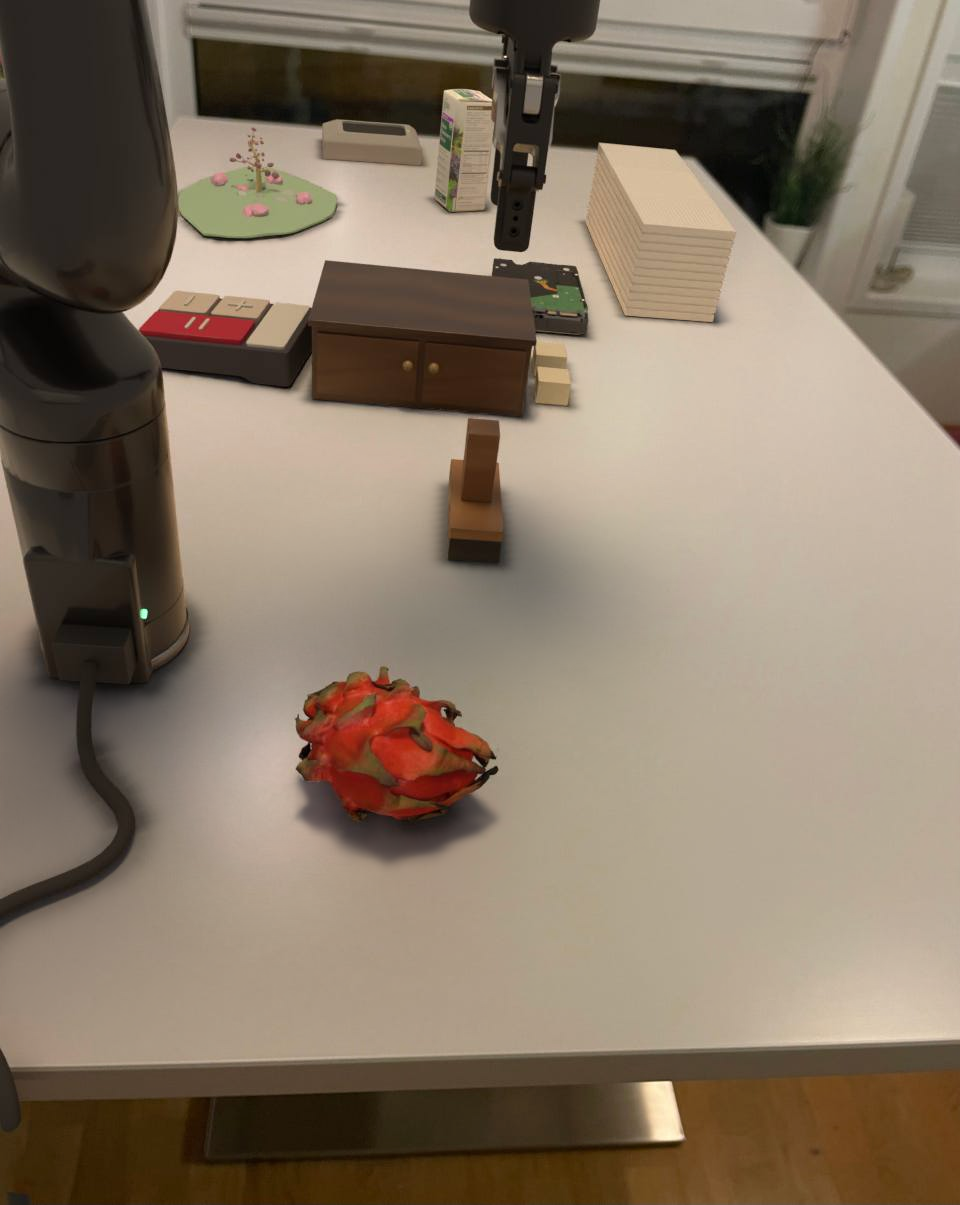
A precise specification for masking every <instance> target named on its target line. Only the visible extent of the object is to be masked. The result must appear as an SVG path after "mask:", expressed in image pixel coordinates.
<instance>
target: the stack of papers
mask: <svg viewBox="0 0 960 1205" xmlns="http://www.w3.org/2000/svg"><path fill="white" fill-rule="evenodd" d="M592 175H593V176H592V182H591V188H590V194H589V200H588V201H589V202H588V205H587V208H588V209H587V211H586V217H585V225H586V227H587V230H588V232H589V234H590V236H591V239H592V241H593V243H594V246H595V248H596V251H597V253H598V255H599V258H600V260H601V262H602V265H603V267H604V269H605V273H606V275H607V276H608V279H609V281H610V284H611V286H612V288H613V291H614V293H615V295H616V298H617V300H618V302H619V305H620V306H621V307H620V308H621V309H622V312H623V314H624V316H628V317H640V318H642V317H643V318H653V319H654V318H655V319H665V320H666V319H667V320H681V321H693V322H694V321H695V322H705V323H706V322H707V323H713V322H714V319H715V314H716V312H717V308H718V307H717V306H718V303H719V298H720V297H721V293H722V292H721V290H722V288H723V284H724V283H723V282H724V280H725V277H726V273H727V269H728V265H729V262H730V257H731V254H732V248H733V246H734V243H735V241H734V240H735V238H736V235H737V231H736V229H735V228H734V227H733V225H732V224H731V222H730V221H729V220H728V219H727V217H726V216H725V215H724V213H723V212H722V210H721V209H720V208H719V206H718V205H717V204H716V202H715V201H714V200H713V199H712V197H711V196H710V194H709V193H708V191H707V190H706V189H705V188H704V186H703V185H702V184H701V182H700V181H699V179H698V178H697V177H696V176H695V174H694V173H693V171H692V170H691V169H690V168H689V166H688V165H687V164H686V162H685V161H684V160H683V158H682V156H680V154H679V153H678V151H677V150H676V149H668V148H658V147H649V146H639V145H638V146H637V145H627V144H618V143H617V144H616V143H607V142H598V145H597V151H596V159H595V166H594V170H593V174H592Z"/></svg>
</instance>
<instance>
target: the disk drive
mask: <svg viewBox="0 0 960 1205" xmlns="http://www.w3.org/2000/svg"><path fill="white" fill-rule="evenodd" d="M491 270H492V271H491V276H495V277H505V278H516V279H526V280H528V282H529V289H530V296H531V303H532V311H533V318H534V325H535V332H541V333H542V332H543V333H555V334H568V335H576V336H577V335H578V336H579V335H581V334H582V335H585V334H587V329H588V325H589V314H588V310H589V307H588V303H587V300H586V298H585V293H584V289H583V287H582V282H581V279H580V275H579V274H580V273H579V271H578V268H577V266H576V265H571V264H570V265H569V264H556V263H547V262H539V261H528V262H525V263H523V264H518V263H516V262H514V260H512V259H506V258H498V257H497V258H496V257H495V258H493V262H492V269H491Z"/></svg>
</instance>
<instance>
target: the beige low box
mask: <svg viewBox="0 0 960 1205" xmlns="http://www.w3.org/2000/svg"><path fill="white" fill-rule="evenodd" d="M321 127H322V130H321V132H322V134H321V135H322V136H321V138H322V139H321V141H322V142H321V143H322V145H321V146H322V158H323V159H324V160H337V161H338V160H339V161H352V162H367V163H380V164H394V165H396V164H397V165H407V166H408V165H410V166H422V161H423V149H422V146H421V143H420V140H419V136H418V133H417V130H416V129H415V128H414V127H412V126H411V125H410V124H404V123H393V122H376V121H363V120H350V119H337V118H336V119H333V120H329V121H327V122H323V123H322V126H321Z"/></svg>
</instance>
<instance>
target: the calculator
mask: <svg viewBox="0 0 960 1205" xmlns="http://www.w3.org/2000/svg"><path fill="white" fill-rule="evenodd" d="M311 308H312V307H311V306H310V305H305V304H297V303H296V304H295V303H286V302H285V303H284V302H274V303H271V301H270V299H264V298H255V297H243V296H242V297H241V296H234V295H225V296H224V297H222V298H220V295H219V294H214V293H205V292H204V293H203V292H194V291H183V290H175V291H173V292H172V293H171V295H169V297H167V299H166V300H164V302H163V303H162V304H161V305H160V306H159V307H158V309H157V310H155V311H154V312H153V313H152V315H151V316H149V318H148V319H147V320H146V321H145V322H144V323H142V325H141V326H140V327H139V328H138V331H139V332H140V333H141V334H142V335H143V336H144V337H145V338H146V339H147V340H148V342H149V343H150V344H151V345H152V347H153V348H154V350H155V351H156V353H157V355H158V358H159V360H160V364H161V368H162V369H169V370H178V371H179V370H180V371H190V372H198V373H207V374H217V375H218V374H219V375H225V376H226V375H227V376H237V377H242V378H244V379H245V380H247V381H249V382H250V383H251V384H258V385H268V386H277V387H290V386H291V385H292V384H293V382H294V381H295V379H296V378H297V376H298V374H299V372H300V371H301V369H302V367H303V365H304V364H305V362H306V360H307V359H308V357H309V356H310V354H311V353H312V326H308V319H309V316H310V312H311Z"/></svg>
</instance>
